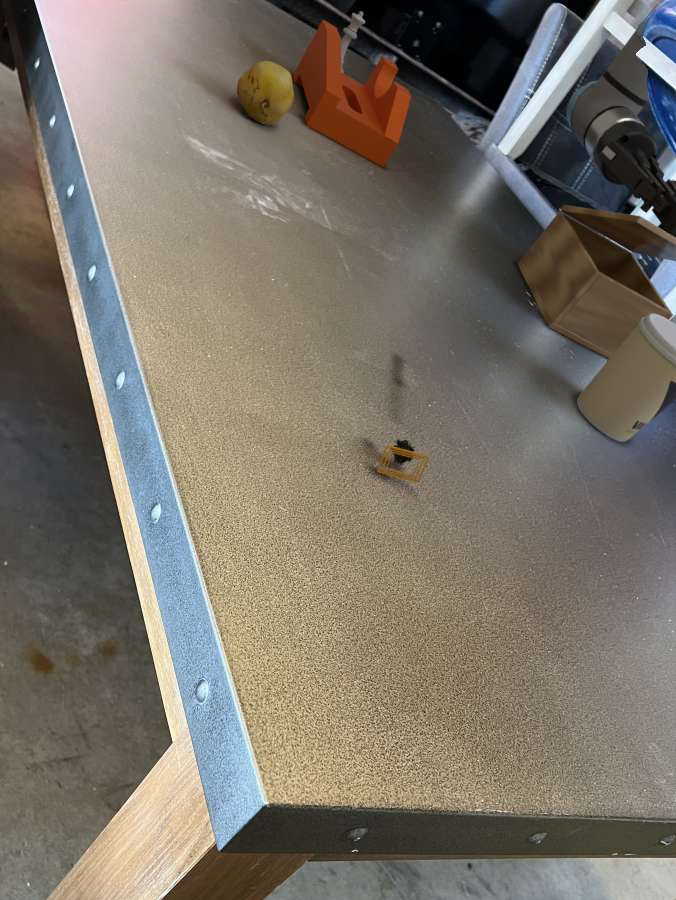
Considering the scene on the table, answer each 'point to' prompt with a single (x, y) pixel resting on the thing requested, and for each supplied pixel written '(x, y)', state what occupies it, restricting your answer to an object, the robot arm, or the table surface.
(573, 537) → the table surface
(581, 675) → the table surface
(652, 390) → the coffee cup
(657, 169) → the robot arm
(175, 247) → the table surface
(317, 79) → the tape dispenser
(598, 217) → the lid
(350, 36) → the chess piece
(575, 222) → the chest
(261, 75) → the fruit
